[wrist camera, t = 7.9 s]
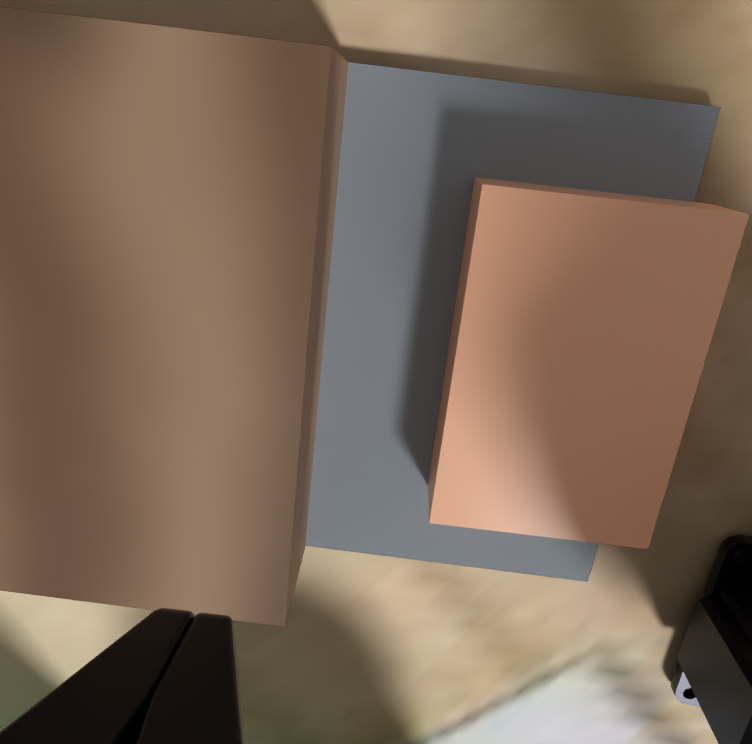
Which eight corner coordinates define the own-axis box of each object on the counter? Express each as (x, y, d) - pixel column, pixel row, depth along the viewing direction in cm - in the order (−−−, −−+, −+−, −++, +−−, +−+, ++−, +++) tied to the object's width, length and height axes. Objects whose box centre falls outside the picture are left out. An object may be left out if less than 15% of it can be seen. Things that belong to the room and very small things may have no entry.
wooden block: (350, 63, 16) (331, 46, 13) (307, 538, 21) (284, 626, 18) (-130, 5, 16) (-290, -29, 13) (-60, 491, 21) (-160, 569, 18)
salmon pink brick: (482, 184, 15) (474, 177, 17) (429, 523, 18) (427, 485, 20) (749, 214, 15) (711, 203, 17) (648, 549, 18) (626, 508, 20)
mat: (713, 107, 16) (720, 107, 16) (584, 573, 21) (587, 581, 21) (350, 63, 16) (348, 62, 16) (307, 538, 21) (305, 545, 21)
